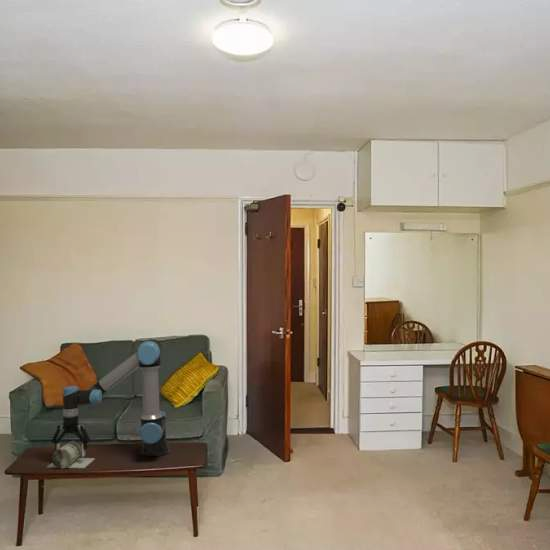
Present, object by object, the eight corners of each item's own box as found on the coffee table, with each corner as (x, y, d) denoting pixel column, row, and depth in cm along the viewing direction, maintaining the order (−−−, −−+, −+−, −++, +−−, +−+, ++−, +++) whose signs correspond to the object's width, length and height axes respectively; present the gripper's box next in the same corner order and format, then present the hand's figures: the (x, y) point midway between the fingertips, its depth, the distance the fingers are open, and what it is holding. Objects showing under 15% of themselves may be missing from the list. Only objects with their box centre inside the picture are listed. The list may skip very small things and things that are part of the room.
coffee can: (48, 453, 271) (61, 444, 286) (56, 471, 271) (68, 462, 285) (66, 445, 271) (78, 437, 285) (74, 464, 271) (85, 454, 285)
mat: (95, 459, 286) (95, 458, 286) (84, 468, 272) (84, 467, 272) (59, 458, 288) (59, 457, 288) (46, 467, 274) (46, 466, 274)
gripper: (44, 417, 276) (44, 457, 276) (90, 417, 275) (91, 458, 275) (51, 413, 284) (51, 453, 284) (96, 414, 282) (96, 453, 282)
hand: (71, 455), depth 279 cm, fingers open, 13 cm apart
